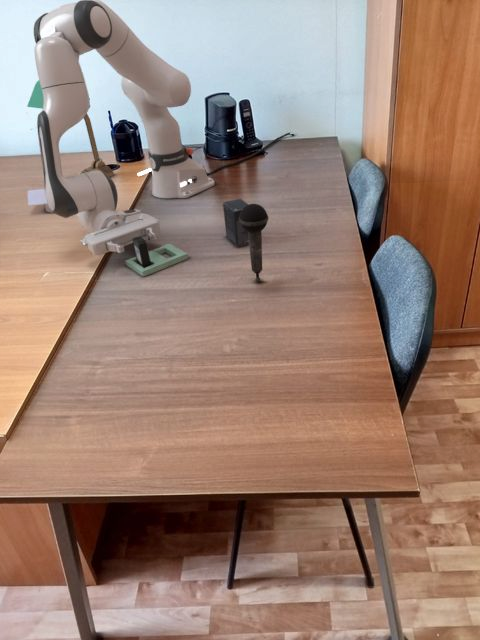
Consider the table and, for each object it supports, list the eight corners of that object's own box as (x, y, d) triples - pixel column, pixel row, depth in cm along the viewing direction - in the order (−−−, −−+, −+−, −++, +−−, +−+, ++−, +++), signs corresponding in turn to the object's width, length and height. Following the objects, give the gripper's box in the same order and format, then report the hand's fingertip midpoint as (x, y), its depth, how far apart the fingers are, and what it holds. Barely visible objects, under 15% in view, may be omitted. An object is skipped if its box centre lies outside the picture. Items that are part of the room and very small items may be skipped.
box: (255, 242, 150) (252, 206, 143) (236, 247, 148) (233, 211, 141) (243, 232, 155) (240, 197, 149) (225, 237, 153) (222, 201, 147)
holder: (170, 248, 150) (169, 243, 149) (188, 258, 144) (187, 253, 143) (126, 265, 143) (125, 260, 142) (143, 276, 137) (142, 271, 136)
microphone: (243, 276, 134) (236, 200, 122) (270, 274, 135) (266, 197, 123) (245, 290, 129) (238, 212, 117) (273, 287, 129) (269, 209, 117)
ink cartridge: (137, 264, 143) (131, 237, 138) (145, 262, 144) (139, 234, 139) (143, 271, 139) (137, 243, 134) (151, 269, 140) (146, 241, 135)
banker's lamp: (121, 176, 201) (98, 73, 180) (79, 195, 187) (49, 86, 166) (92, 170, 208) (67, 71, 187) (49, 188, 194) (18, 83, 173)
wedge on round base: (31, 215, 175) (71, 211, 176) (24, 195, 171) (65, 191, 172) (36, 204, 182) (75, 201, 183) (30, 185, 178) (69, 181, 179)
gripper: (74, 229, 139) (98, 245, 131) (142, 207, 150) (168, 220, 141) (80, 251, 143) (104, 268, 135) (146, 227, 153) (172, 242, 145)
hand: (137, 243), depth 138 cm, fingers open, 8 cm apart
